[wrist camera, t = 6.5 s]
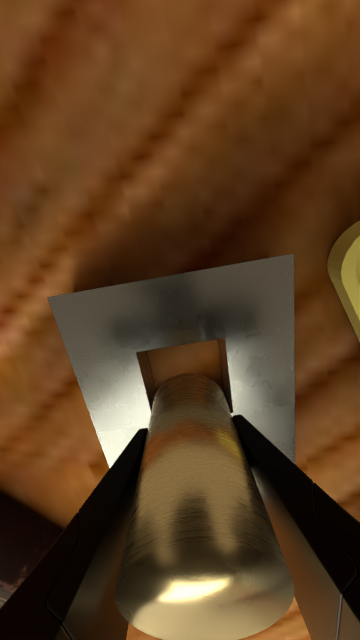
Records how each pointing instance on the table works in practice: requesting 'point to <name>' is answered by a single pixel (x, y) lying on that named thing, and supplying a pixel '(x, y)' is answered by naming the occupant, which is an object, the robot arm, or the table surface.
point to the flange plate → (183, 328)
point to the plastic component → (347, 273)
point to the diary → (21, 544)
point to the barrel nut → (199, 527)
